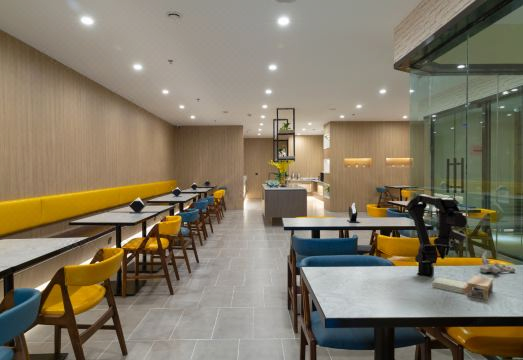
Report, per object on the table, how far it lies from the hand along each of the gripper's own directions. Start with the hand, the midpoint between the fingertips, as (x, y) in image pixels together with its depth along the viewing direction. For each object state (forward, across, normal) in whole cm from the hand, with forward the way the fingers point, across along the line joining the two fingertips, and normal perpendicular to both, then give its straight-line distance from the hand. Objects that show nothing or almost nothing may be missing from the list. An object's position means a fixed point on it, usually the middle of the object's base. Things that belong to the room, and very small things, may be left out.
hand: (444, 257), depth 155 cm
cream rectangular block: (+13, -5, -4) cm, 14 cm away
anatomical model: (+13, +44, -16) cm, 48 cm away
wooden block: (+12, -5, -15) cm, 20 cm away
